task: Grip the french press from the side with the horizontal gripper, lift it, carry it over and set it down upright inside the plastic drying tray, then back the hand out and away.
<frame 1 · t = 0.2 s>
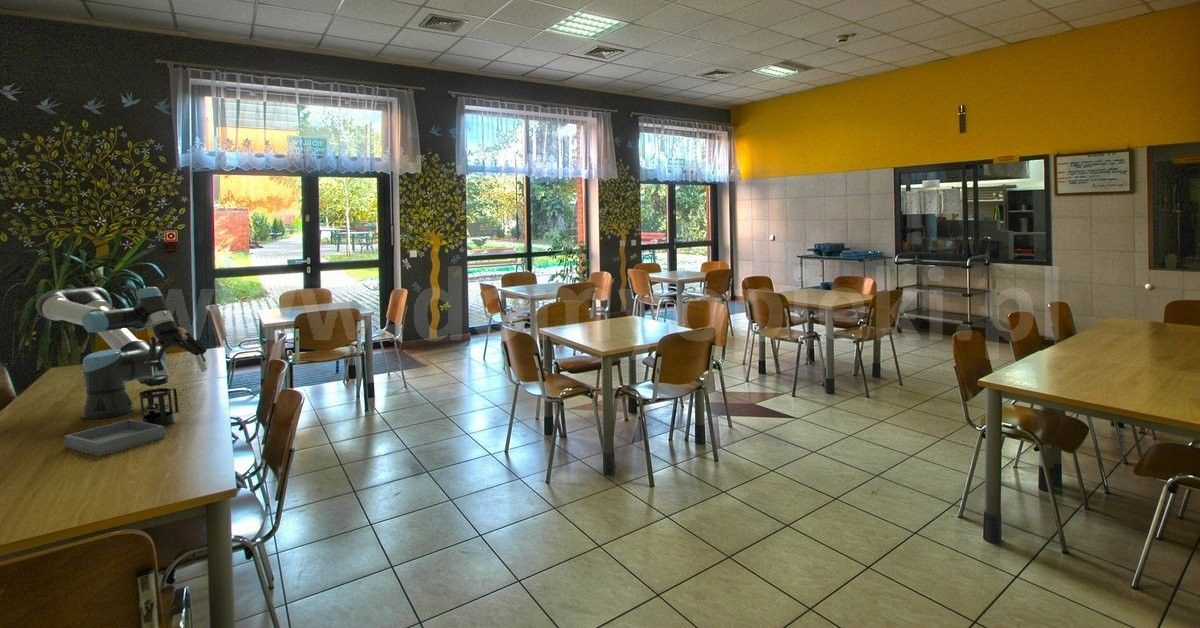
hand: (186, 374, 235), 15 cm above the table, tool tilted 35°, fingers open, 13 cm apart
drying tray: (116, 442, 205), on the table
french press: (160, 424, 224), on the table
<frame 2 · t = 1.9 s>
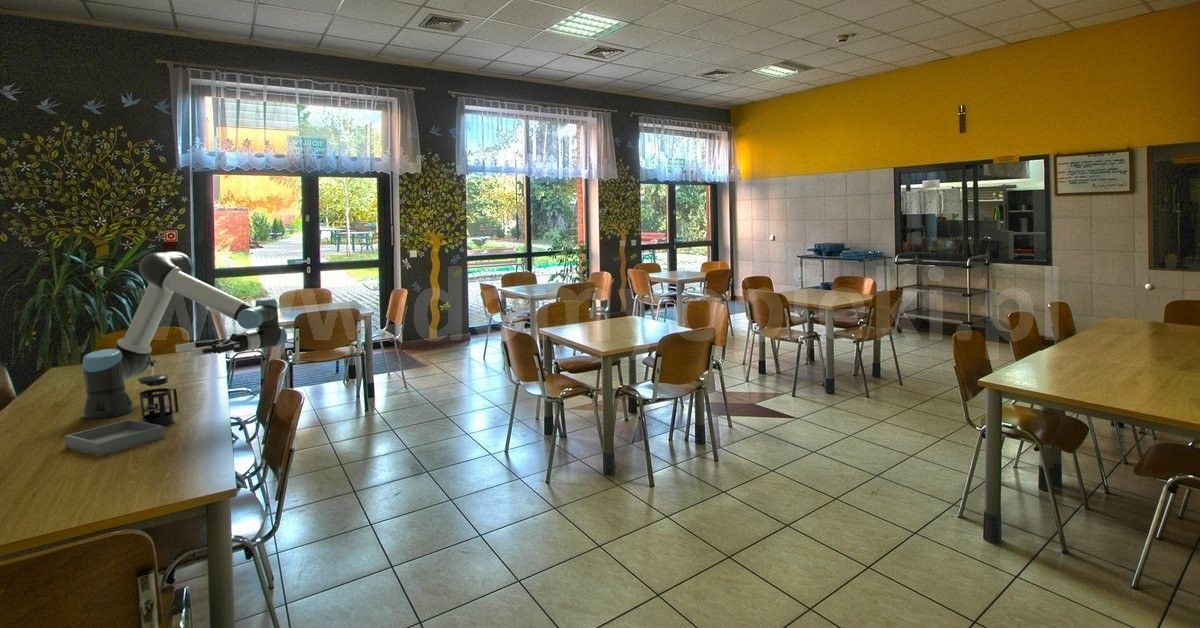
hand: (183, 350, 229), 25 cm above the table, tool horizontal, fingers open, 13 cm apart
nothing on the table moved.
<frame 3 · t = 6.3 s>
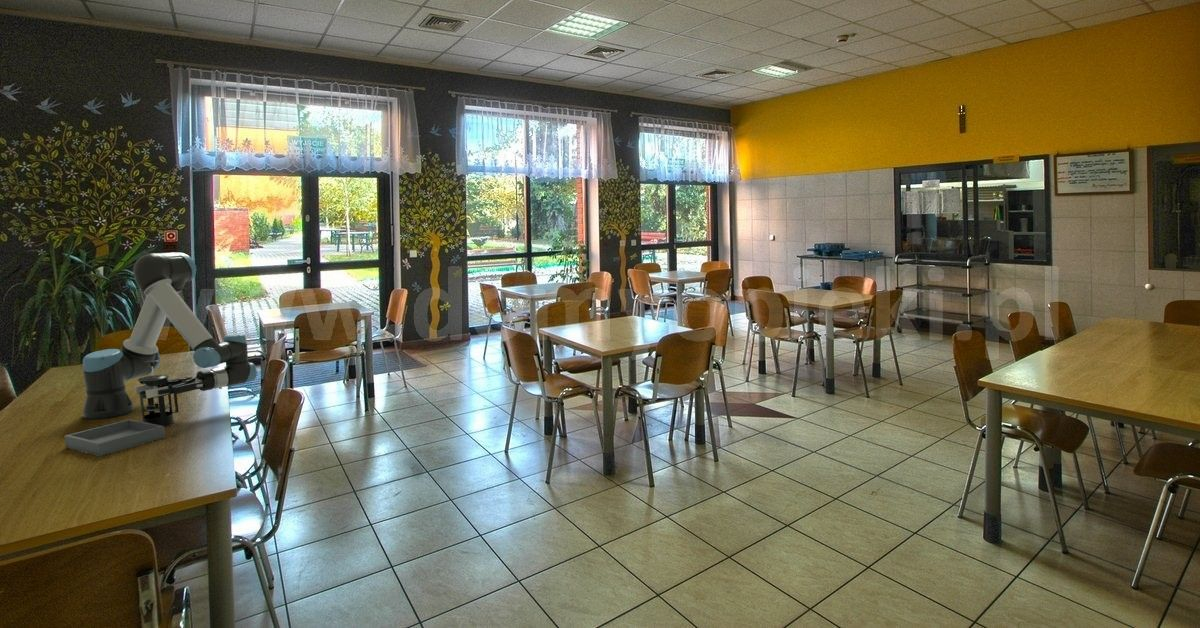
hand: (141, 392, 219), 13 cm above the table, tool horizontal, fingers closed on french press, 8 cm apart
french press: (160, 424, 224), on the table, touching gripper
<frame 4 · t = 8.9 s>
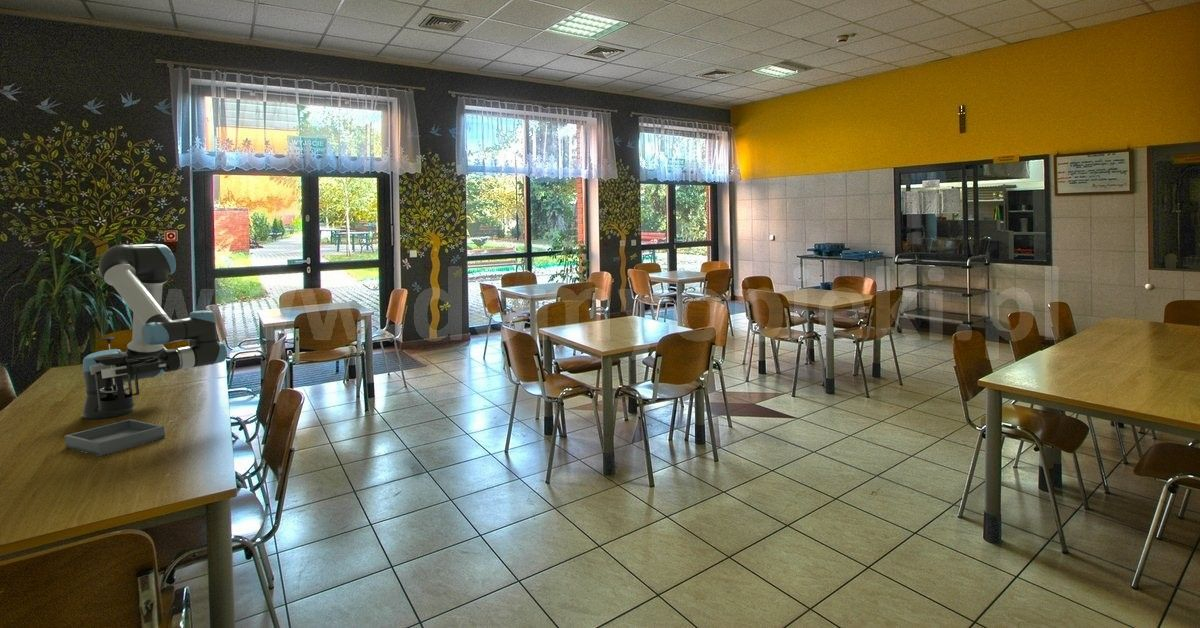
hand: (96, 372, 199), 24 cm above the table, tool horizontal, fingers closed on french press, 8 cm apart
french press: (118, 407, 205), point 11 cm above the table, touching gripper
when the fingers open (15 cm above the table, at t = 11.6 s): french press drops 1 cm, resting on drying tray.
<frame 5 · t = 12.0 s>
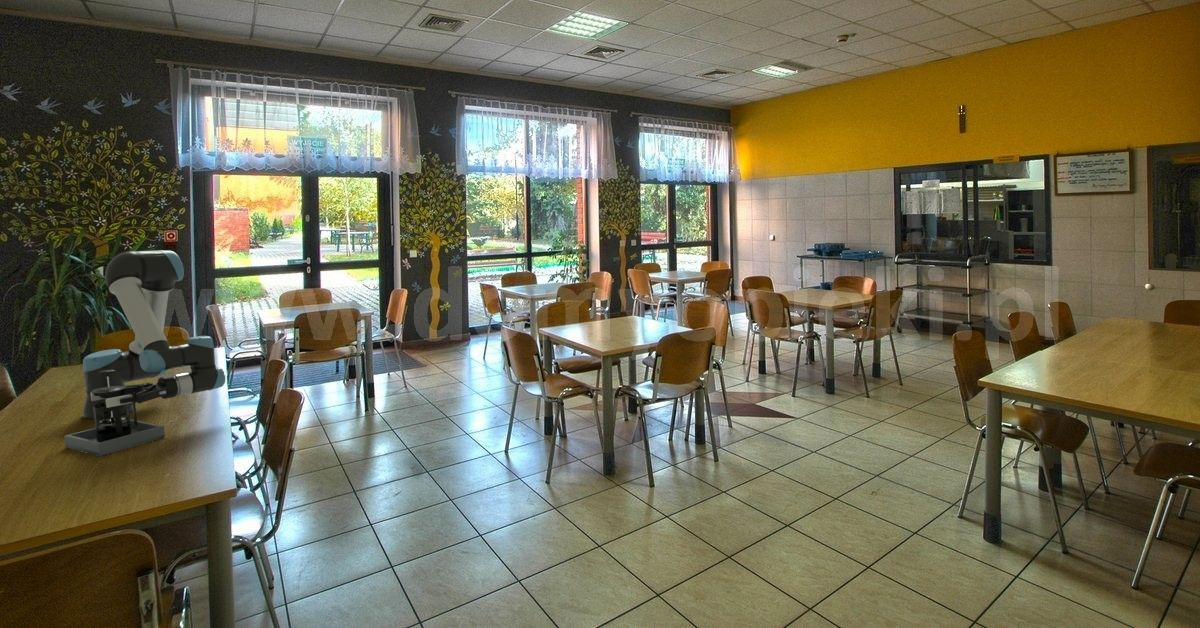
hand: (98, 400, 200), 15 cm above the table, tool horizontal, fingers open, 13 cm apart
french press: (116, 440, 205), point 1 cm above the table, touching drying tray
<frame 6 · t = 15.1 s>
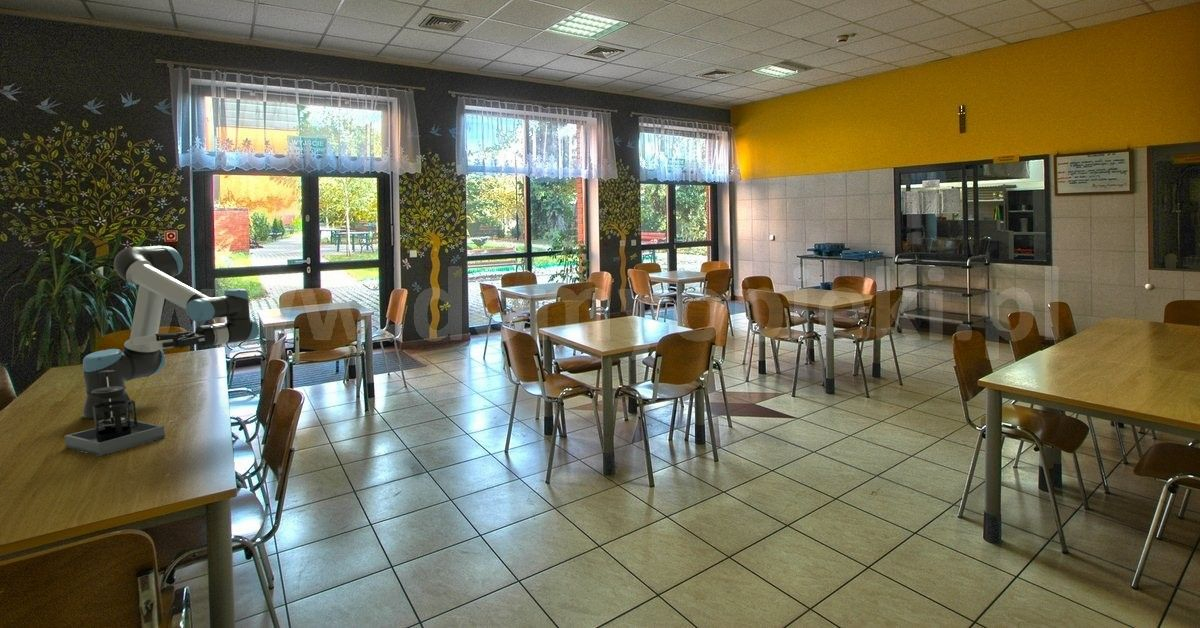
hand: (141, 344, 208), 31 cm above the table, tool horizontal, fingers open, 13 cm apart
nothing on the table moved.
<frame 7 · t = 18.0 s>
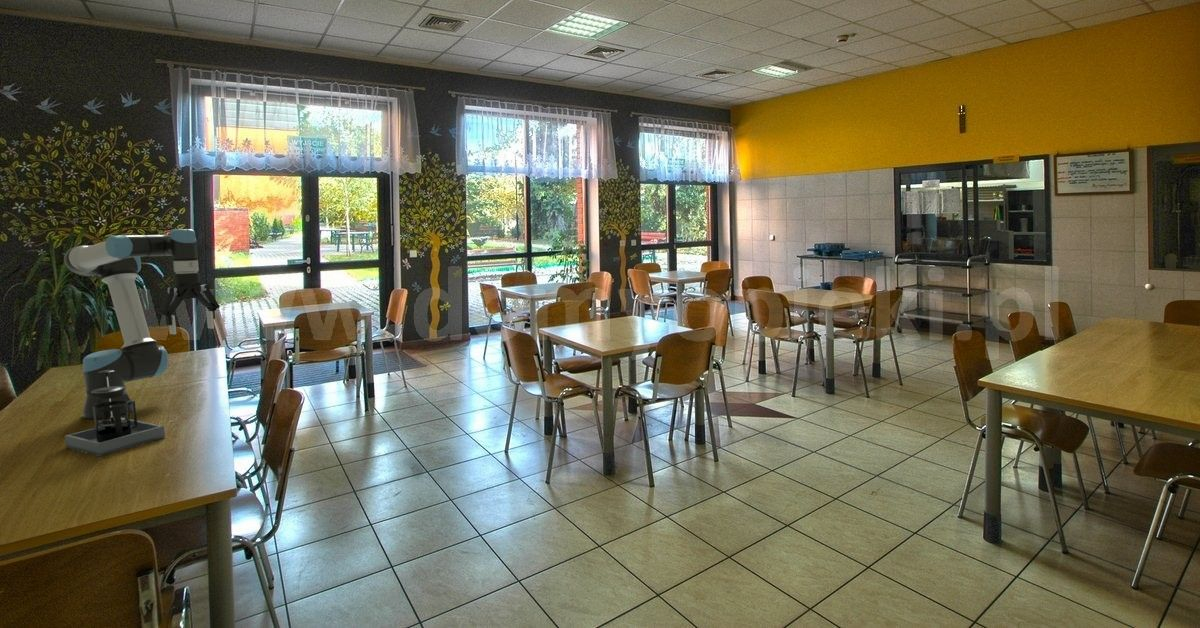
hand: (192, 331, 229), 32 cm above the table, tool pointing down, fingers open, 13 cm apart
nothing on the table moved.
at the end: french press inside the target area on the drying tray (0.3 cm from its centre), point 0.8 cm above the drying tray's base; french press tilted 0°; the gripper is holding nothing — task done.
